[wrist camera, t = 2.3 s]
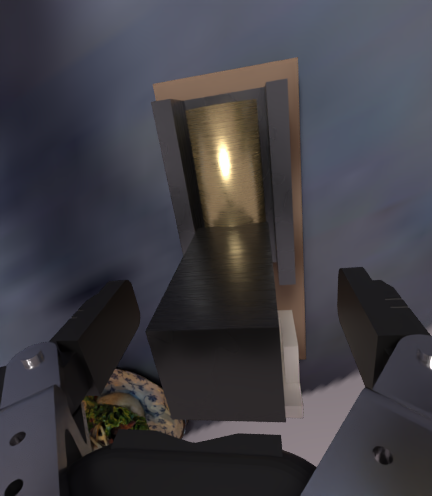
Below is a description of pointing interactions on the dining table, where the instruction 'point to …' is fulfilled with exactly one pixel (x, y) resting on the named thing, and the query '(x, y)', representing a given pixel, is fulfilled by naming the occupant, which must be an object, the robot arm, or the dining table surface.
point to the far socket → (290, 365)
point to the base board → (256, 78)
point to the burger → (128, 409)
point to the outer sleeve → (272, 158)
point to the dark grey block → (223, 284)
